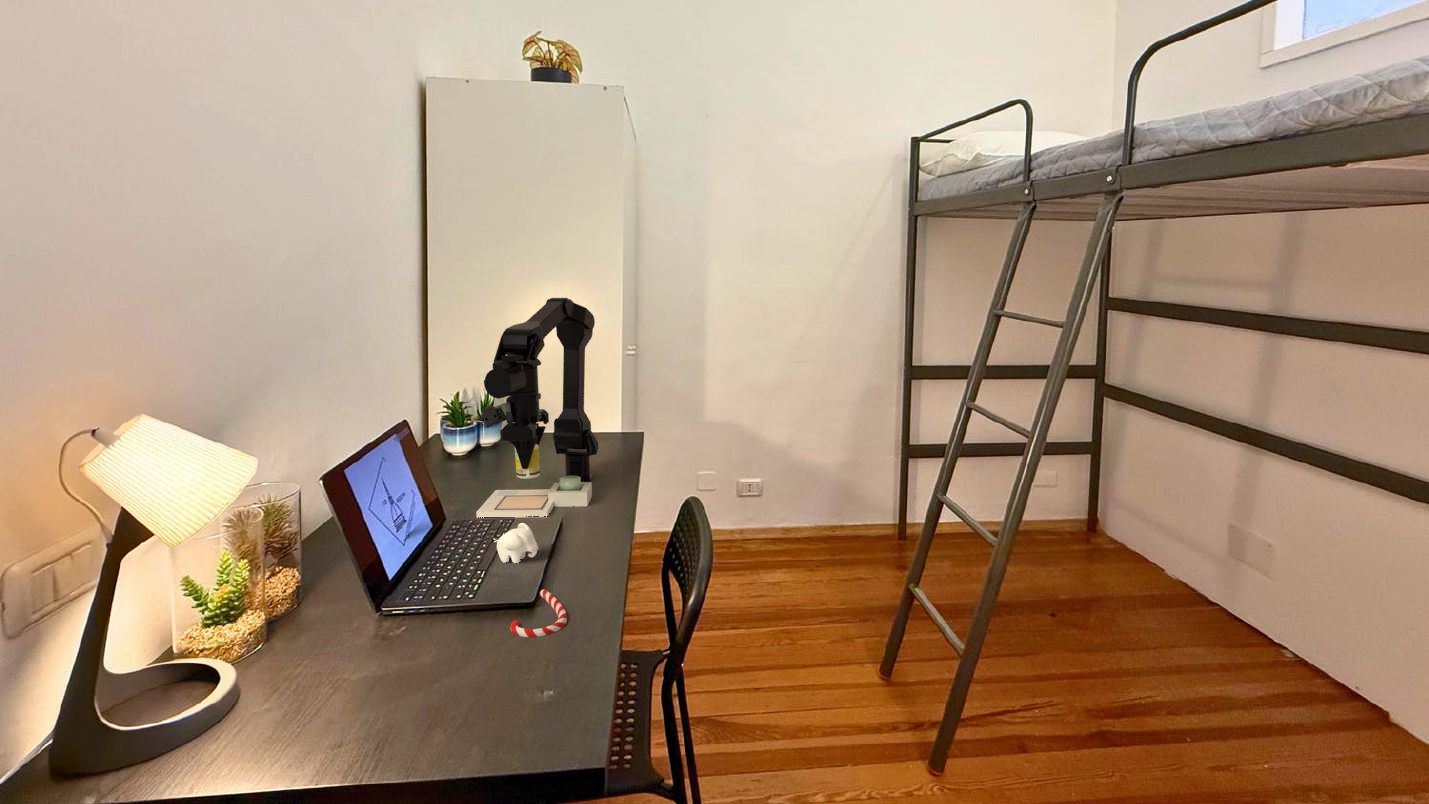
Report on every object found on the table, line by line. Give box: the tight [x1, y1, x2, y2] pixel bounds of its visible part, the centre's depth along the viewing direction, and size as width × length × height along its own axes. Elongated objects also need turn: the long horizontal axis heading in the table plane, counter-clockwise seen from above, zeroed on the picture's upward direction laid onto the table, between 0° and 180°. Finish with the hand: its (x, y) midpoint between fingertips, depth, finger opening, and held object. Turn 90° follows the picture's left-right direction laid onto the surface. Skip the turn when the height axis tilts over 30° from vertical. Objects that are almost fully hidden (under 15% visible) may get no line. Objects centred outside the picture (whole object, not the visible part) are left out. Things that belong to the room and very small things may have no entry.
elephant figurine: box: [492, 522, 540, 564], centre depth 138 cm, size 7×8×6 cm
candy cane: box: [509, 589, 568, 638], centre depth 118 cm, size 8×1×15 cm
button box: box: [548, 481, 593, 508], centre depth 173 cm, size 8×8×3 cm
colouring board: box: [476, 488, 554, 519], centre depth 170 cm, size 16×14×1 cm
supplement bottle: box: [514, 444, 541, 480], centre depth 166 cm, size 5×5×8 cm
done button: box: [559, 475, 581, 491], centre depth 173 cm, size 4×4×2 cm
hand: (527, 465), depth 167 cm, fingers closed on supplement bottle, 5 cm apart
